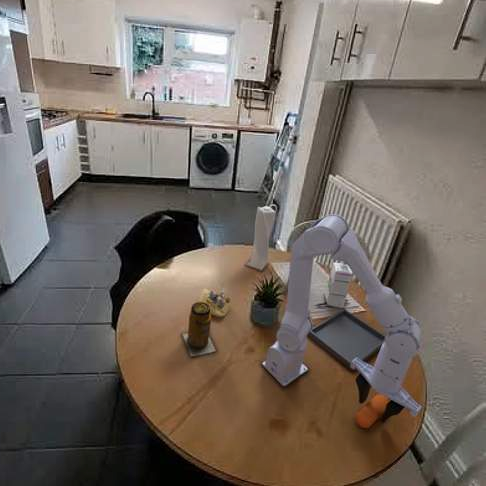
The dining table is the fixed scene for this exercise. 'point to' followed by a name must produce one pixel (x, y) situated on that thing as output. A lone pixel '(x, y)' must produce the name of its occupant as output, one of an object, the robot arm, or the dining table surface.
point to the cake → (216, 301)
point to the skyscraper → (262, 237)
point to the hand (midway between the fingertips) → (372, 410)
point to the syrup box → (338, 285)
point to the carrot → (372, 411)
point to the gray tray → (347, 337)
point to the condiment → (199, 330)
